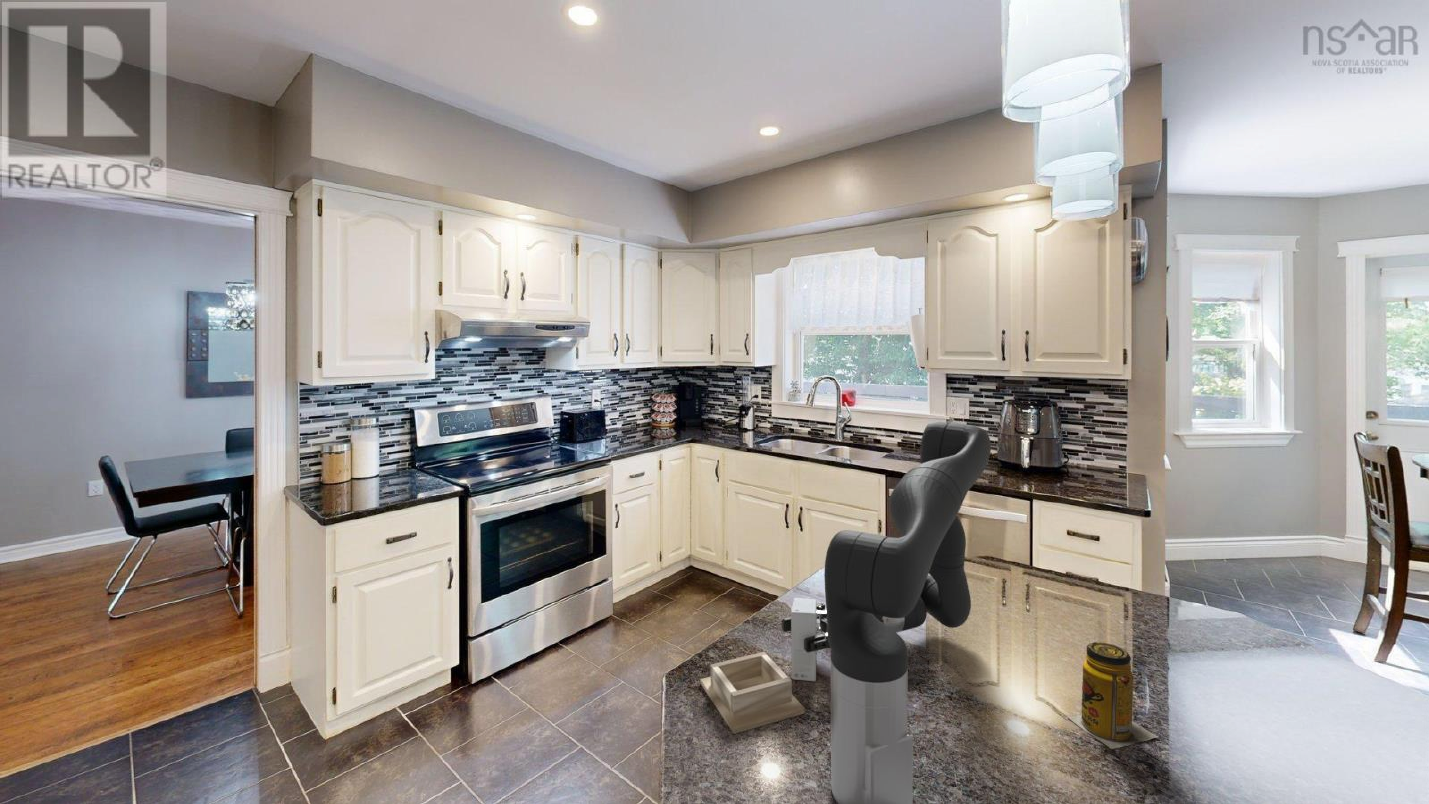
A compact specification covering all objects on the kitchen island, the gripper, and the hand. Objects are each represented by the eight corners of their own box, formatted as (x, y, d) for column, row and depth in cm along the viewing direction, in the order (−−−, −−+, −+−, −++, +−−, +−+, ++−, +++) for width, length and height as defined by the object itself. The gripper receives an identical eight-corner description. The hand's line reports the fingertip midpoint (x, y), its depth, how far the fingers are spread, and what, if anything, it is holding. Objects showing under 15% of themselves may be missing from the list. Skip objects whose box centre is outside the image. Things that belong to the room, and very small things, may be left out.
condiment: (1066, 718, 85) (1068, 641, 84) (1111, 708, 87) (1114, 633, 86) (1111, 750, 78) (1114, 667, 77) (1159, 739, 80) (1162, 658, 79)
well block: (804, 713, 87) (804, 686, 87) (733, 734, 83) (733, 706, 82) (763, 667, 100) (763, 644, 100) (700, 683, 96) (699, 659, 95)
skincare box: (816, 682, 95) (816, 614, 94) (791, 680, 96) (790, 612, 95) (817, 663, 101) (816, 598, 100) (793, 661, 102) (792, 597, 101)
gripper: (848, 582, 110) (773, 598, 104) (898, 613, 97) (815, 633, 90) (848, 620, 110) (773, 637, 104) (898, 655, 97) (815, 677, 91)
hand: (793, 635), depth 97 cm, fingers closed on skincare box, 7 cm apart
